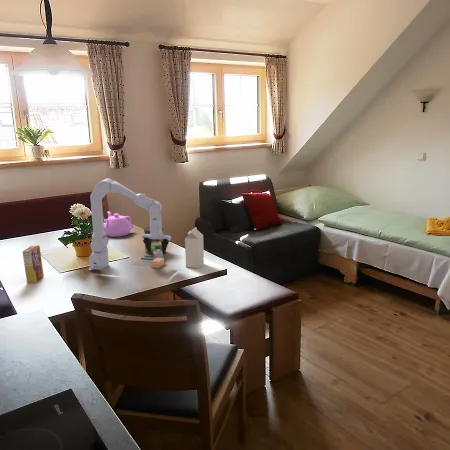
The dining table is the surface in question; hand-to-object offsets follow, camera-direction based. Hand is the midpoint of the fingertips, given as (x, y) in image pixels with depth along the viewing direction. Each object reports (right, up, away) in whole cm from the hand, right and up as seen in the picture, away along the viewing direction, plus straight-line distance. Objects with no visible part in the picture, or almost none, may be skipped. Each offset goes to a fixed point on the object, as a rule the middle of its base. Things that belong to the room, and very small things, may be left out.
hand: (156, 253), depth 206 cm
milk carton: (+18, -7, +4) cm, 20 cm away
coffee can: (-5, -2, +24) cm, 25 cm away
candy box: (-53, -11, -15) cm, 56 cm away
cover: (0, -7, +2) cm, 7 cm away
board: (-6, -5, +9) cm, 12 cm away
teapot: (-37, +8, +66) cm, 76 cm away
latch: (-1, -4, +10) cm, 11 cm away
